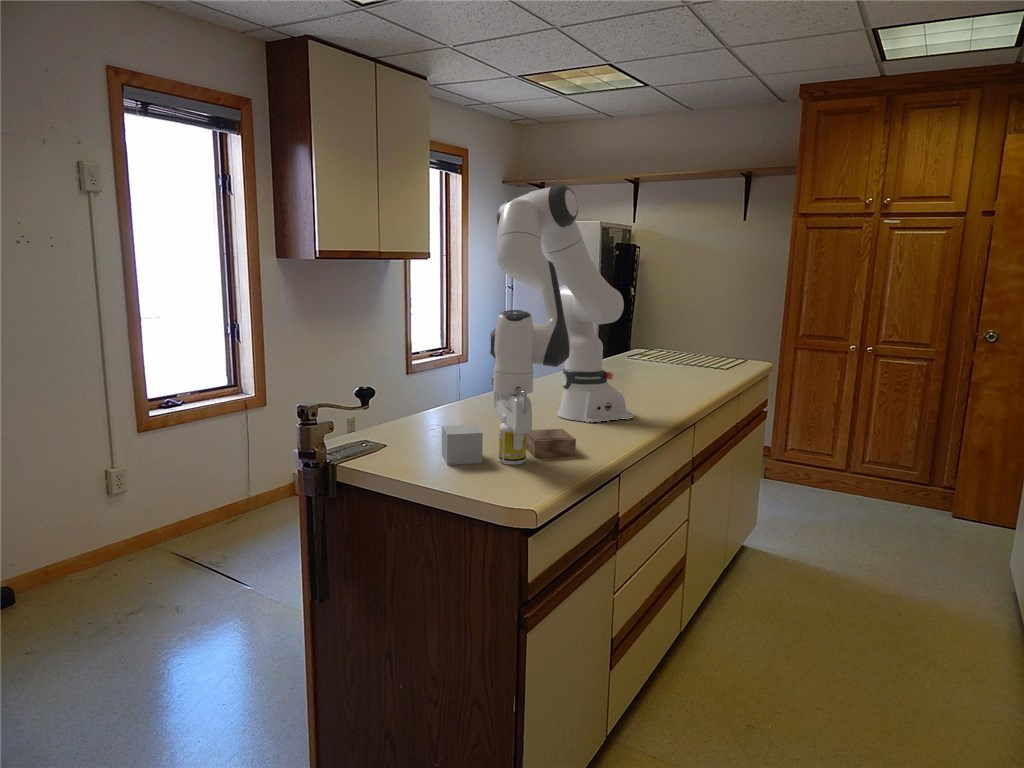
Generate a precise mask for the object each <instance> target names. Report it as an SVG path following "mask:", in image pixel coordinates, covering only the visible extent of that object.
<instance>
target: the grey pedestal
mask: <svg viewBox="0 0 1024 768" xmlns="http://www.w3.org/2000/svg"><path fill="white" fill-rule="evenodd" d="M483 435H484V433H483V431H482V430H481V429H480V428H479V427H478V426H477V424H462V425H461V424H460V425H459V424H458V425H442V426H441V456H442V458H443V460H444V462H445V464H446V466H451V465H456V466H457V465H470V464H471V465H473V464H483V443H484V442H483V437H484V436H483Z"/></svg>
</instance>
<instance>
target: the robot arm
mask: <svg viewBox="0 0 1024 768" xmlns="http://www.w3.org/2000/svg"><path fill="white" fill-rule="evenodd" d="M578 212H579V207H578V200H577V197H576V195H575V193H574V191H573V190H572V189H571V188H570V187H568V186H567V185H565V184H556V185H552V186H550V187H545V188H540V189H536V190H532V191H530V192H528V193H526V194H523V195H520V196H518V197H516V198H513V199H508V200H506V201H505V202H503V203H502V204H501V205H500V206H499V208H498V210H497V212H496V224H497V231H496V232H497V233H496V249H495V251H496V260H497V261H496V262H497V264H498V266H499V267H500V269H501V270H502V271H503V272H504V273H505V274H506V275H507V276H509V277H510V278H512V279H514V280H517V281H518V282H522V283H523V284H526V285H529V286H531V287H533V288H535V289H537V290H538V291H539V292H540V293H541V295H542V297H543V300H544V305H545V307H544V308H545V311H546V317H547V318H546V319H547V322H544V323H534V321H533V316H532V314H531V313H530V312H529V311H525V310H521V309H508V310H503V311H501V312H500V313H498V316H497V320H496V325H495V328H494V329H493V330H492V331H491V332H490V355H491V356H492V357H493V358H494V359H495V365H494V368H493V375H492V377H491V385H492V386H493V399H494V402H493V405H494V411H495V414H496V416H498V417H499V418H500V419H501V420H500V422H501V424H502V423H504V421H503V414H505V415H506V424H507V425H508V426H509V427H510V428H511V429H512V430H513V431H514V441H513V448H514V449H515V450H521V449H522V442H523V439H524V434H528V433H531V430H533V410H532V409H533V407H532V401H531V399H530V397H528V394H531V393H533V391H534V366H533V365H537V366H538V365H541V366H545V367H546V366H548V367H554V368H558V367H559V366H561V365H562V364H563V363H564V368H563V370H562V379H561V381H562V394H561V395H562V396H561V400H560V401H561V402H560V405H559V408H558V411H557V416H559V418H563V419H565V420H571V421H580V422H584V421H585V423H589V422H591V423H590V424H594V423H593V422H597V423H602V422H601V421H607V422H610V421H609V420H616V419H622V418H629V417H633V418H634V414H633V412H631V410H627V405H626V399H625V396H624V394H622V393H621V392H619V391H618V390H617V389H616V388H614V386H612V384H610V383H609V382H608V380H610V381H611V380H613V379H614V373H613V372H610V371H606V370H604V369H603V358H604V357H603V356H604V355H603V354H604V351H603V350H604V345H603V342H602V340H601V339H600V338H599V337H598V336H597V333H596V331H595V329H594V325H593V324H595V325H604V324H611V323H614V322H616V321H618V320H619V319H620V318H621V316H622V314H623V312H624V307H625V306H624V305H625V304H624V303H625V302H624V298H623V296H622V293H621V292H620V291H619V290H617V289H616V288H614V287H613V286H611V285H610V283H609V282H608V281H607V280H606V279H605V278H604V277H603V276H602V274H601V273H600V272H599V270H598V269H597V267H596V266H595V264H594V262H593V260H592V258H591V257H590V254H589V251H588V249H587V247H586V244H585V241H584V239H583V236H582V233H581V231H580V228H579V226H578V224H577V222H576V218H577V217H578V214H579V213H578ZM542 248H543V250H544V252H543V250H542ZM544 253H545V255H544ZM559 281H560V282H561V283H563V285H561V286H560V285H559ZM501 424H500V425H501Z"/></svg>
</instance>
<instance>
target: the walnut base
mask: <svg viewBox="0 0 1024 768" xmlns="http://www.w3.org/2000/svg"><path fill="white" fill-rule="evenodd" d="M576 443H577V439H576V438H575V437H574V436H573V435H571V434H570V433H568V432H567V431H566V430H565V429H564V428H553V429H552V428H550V429H548V428H547V429H532V430H531V433H528V434H526V451H528V453H530V455H532V457H534V458H551V457H570V456H572V455H573V456H576V449H577V448H576V446H577V444H576Z"/></svg>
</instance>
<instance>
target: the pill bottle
mask: <svg viewBox="0 0 1024 768" xmlns="http://www.w3.org/2000/svg"><path fill="white" fill-rule="evenodd" d="M503 421H504V423H502V424H499V428H498V430H499V431H498V460H499V463H501V464H504V465H508V466H515V465H521V464H524V463H525V462H526V459H527V449H526V434H524V439H523V442H522V449H521V450H515V449H514V448H513V441H514V431H513V430H512V429H511V428H510V427H509V426H508V425H507V424H506V415H505V414H503Z"/></svg>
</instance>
